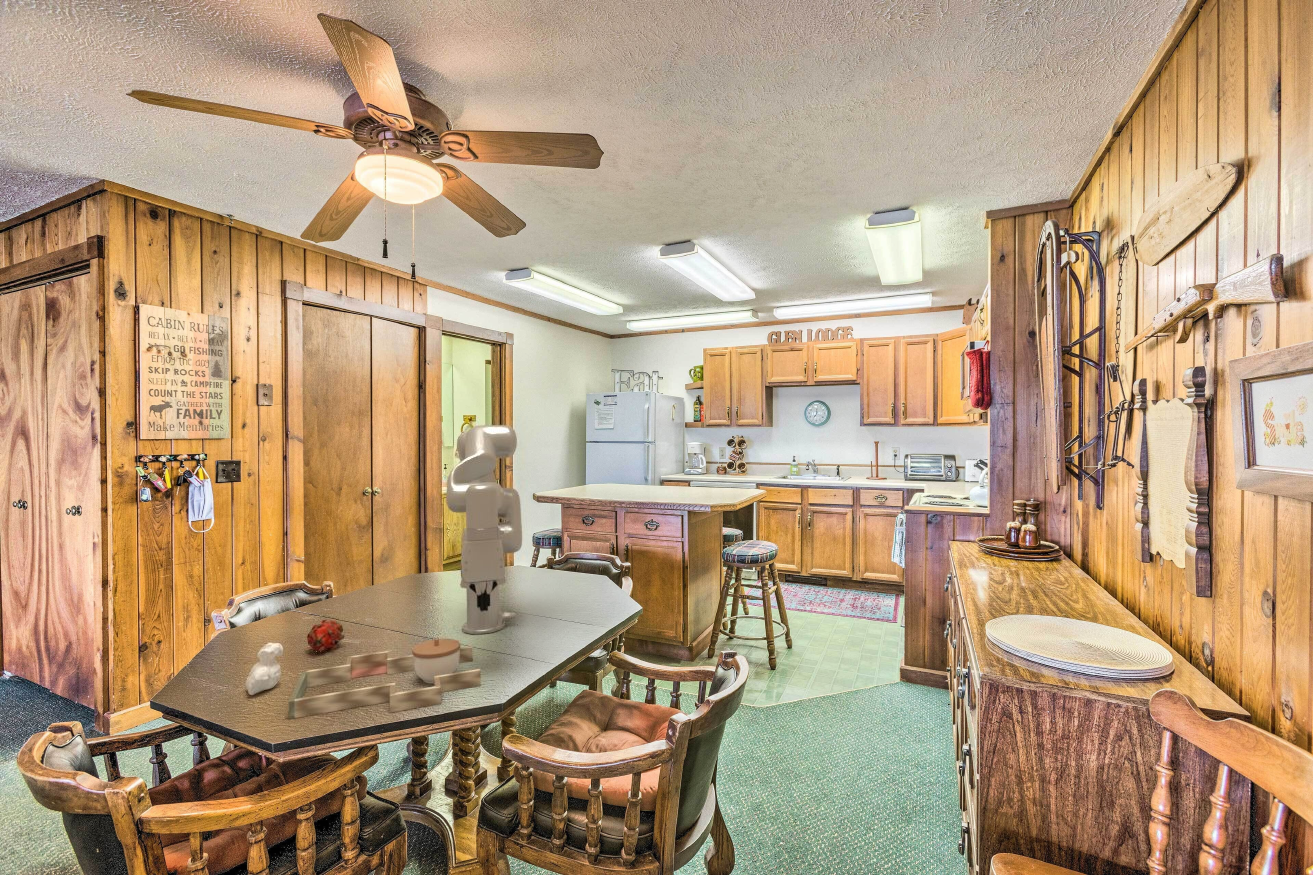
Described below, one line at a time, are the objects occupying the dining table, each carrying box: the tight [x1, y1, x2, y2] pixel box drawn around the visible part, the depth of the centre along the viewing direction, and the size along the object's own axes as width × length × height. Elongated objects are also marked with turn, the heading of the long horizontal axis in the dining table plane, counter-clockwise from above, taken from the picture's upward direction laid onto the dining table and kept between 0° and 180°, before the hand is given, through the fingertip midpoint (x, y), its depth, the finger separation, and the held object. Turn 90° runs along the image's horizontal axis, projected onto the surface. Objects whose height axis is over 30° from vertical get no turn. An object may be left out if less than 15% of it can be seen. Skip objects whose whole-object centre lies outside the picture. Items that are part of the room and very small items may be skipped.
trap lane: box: [288, 645, 482, 720], centre depth 137 cm, size 38×30×4 cm
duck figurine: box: [245, 641, 284, 696], centre depth 138 cm, size 12×8×11 cm
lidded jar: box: [411, 638, 461, 685], centre depth 141 cm, size 11×11×9 cm
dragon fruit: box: [306, 619, 346, 655], centre depth 163 cm, size 8×8×12 cm
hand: (483, 609), depth 145 cm, fingers closed
